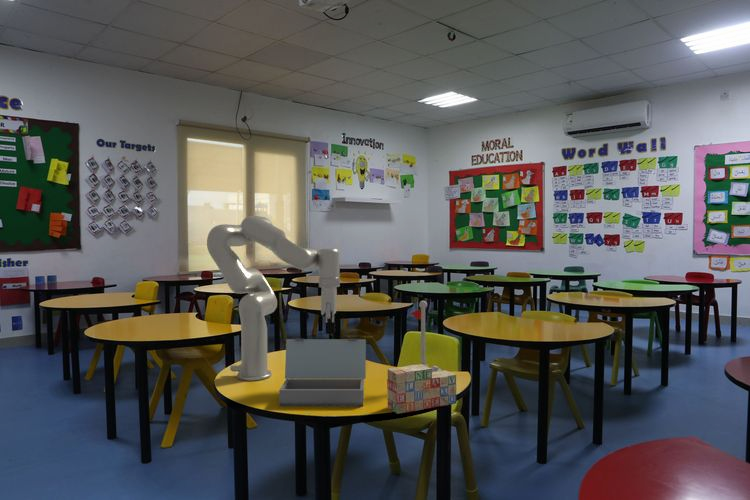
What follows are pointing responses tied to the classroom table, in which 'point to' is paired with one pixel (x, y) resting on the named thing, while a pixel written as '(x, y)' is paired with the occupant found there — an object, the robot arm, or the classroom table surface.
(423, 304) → the flag stand
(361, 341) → the grey flat panel
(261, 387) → the classroom table surface
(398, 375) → the stack of blocks
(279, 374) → the classroom table surface
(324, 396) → the grey open box
